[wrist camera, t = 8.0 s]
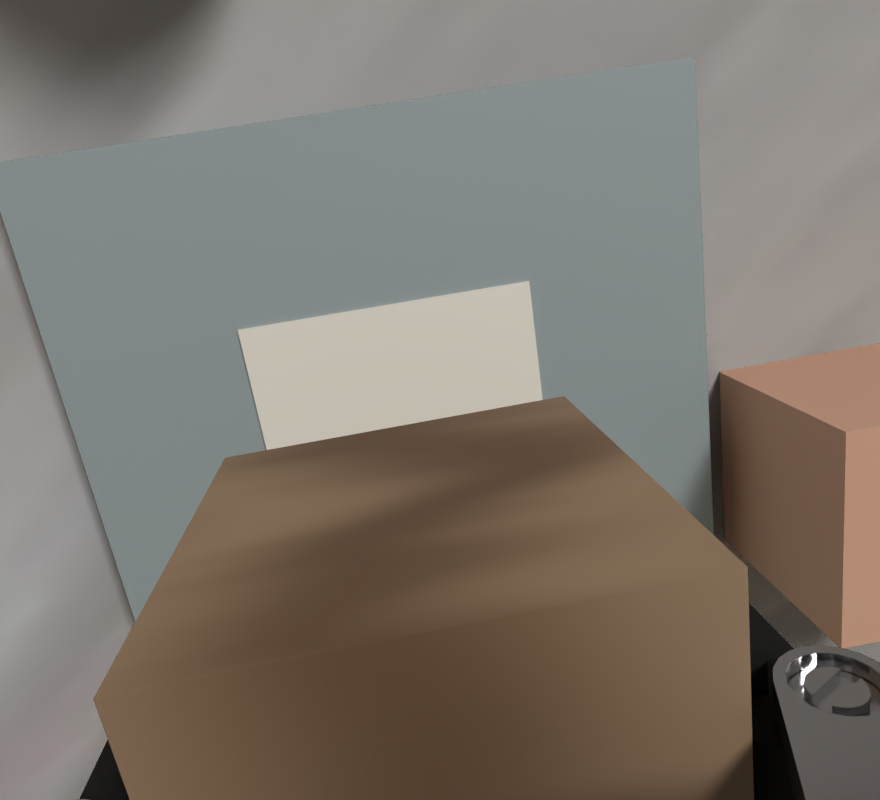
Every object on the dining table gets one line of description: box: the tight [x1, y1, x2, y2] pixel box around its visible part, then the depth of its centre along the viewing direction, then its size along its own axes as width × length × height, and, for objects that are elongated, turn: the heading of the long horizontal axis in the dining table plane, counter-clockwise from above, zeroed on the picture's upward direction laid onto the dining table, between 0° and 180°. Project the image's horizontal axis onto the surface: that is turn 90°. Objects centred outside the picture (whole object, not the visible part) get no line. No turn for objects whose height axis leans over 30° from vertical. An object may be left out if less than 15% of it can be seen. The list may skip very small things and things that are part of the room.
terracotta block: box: [719, 343, 880, 649], centre depth 20 cm, size 6×6×6 cm
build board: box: [0, 57, 714, 622], centre depth 20 cm, size 18×18×1 cm
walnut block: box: [93, 396, 754, 800], centre depth 10 cm, size 6×6×6 cm
